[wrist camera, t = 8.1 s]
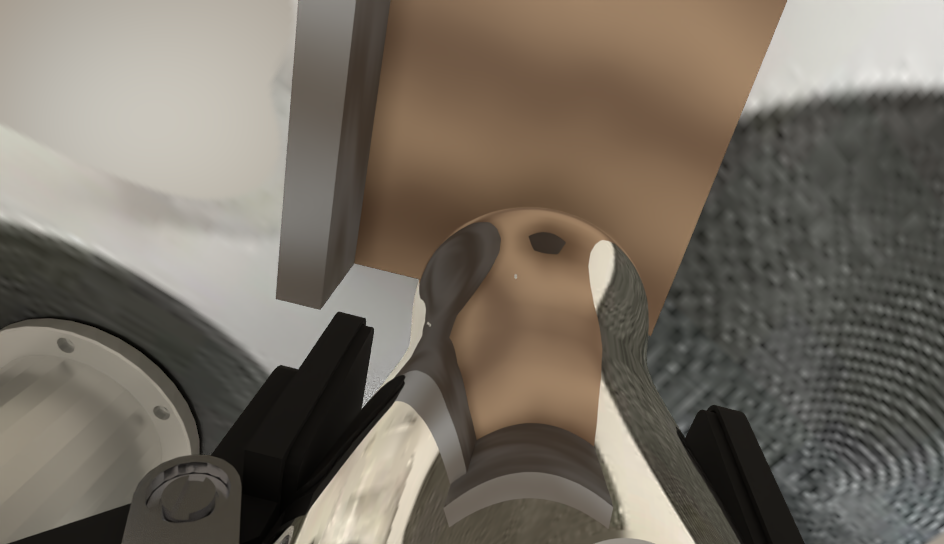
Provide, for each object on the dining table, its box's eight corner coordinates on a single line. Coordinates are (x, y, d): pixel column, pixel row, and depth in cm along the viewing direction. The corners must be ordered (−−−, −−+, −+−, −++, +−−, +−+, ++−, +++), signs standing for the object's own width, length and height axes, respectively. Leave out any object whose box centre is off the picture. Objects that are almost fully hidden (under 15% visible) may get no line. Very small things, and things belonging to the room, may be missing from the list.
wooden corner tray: (643, 312, 26) (681, 433, 19) (332, 236, 26) (249, 327, 19) (810, -114, 19) (973, -183, 12) (385, -214, 19) (286, -342, 12)
